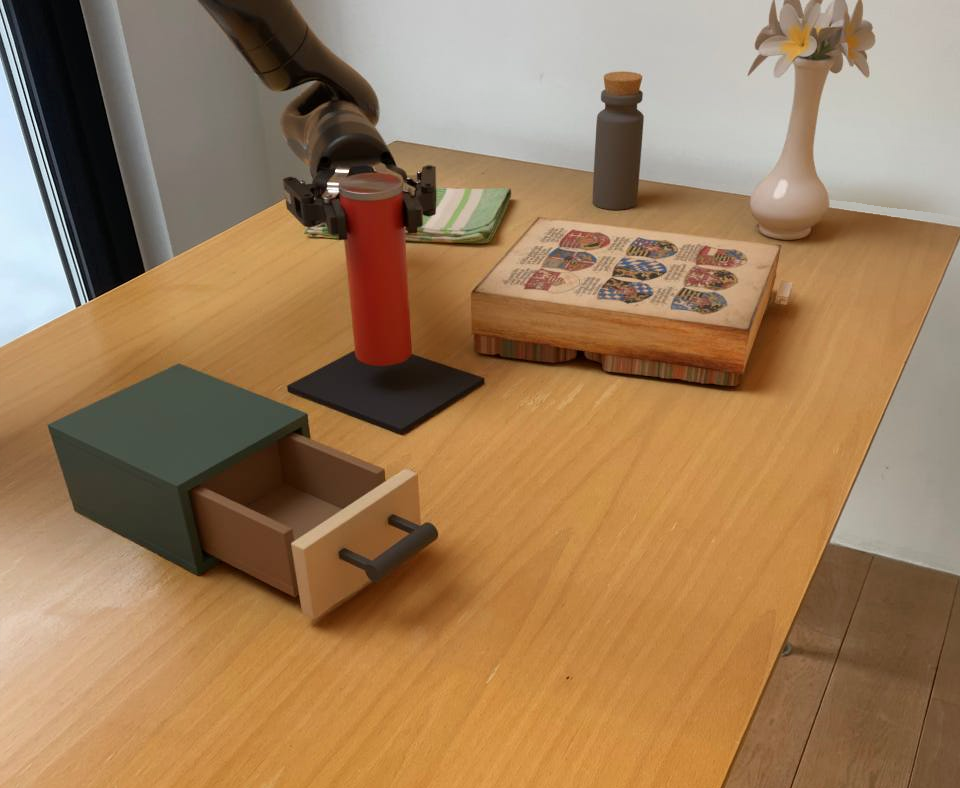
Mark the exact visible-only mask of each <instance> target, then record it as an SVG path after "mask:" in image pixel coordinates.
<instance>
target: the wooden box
mask: <svg viewBox="0 0 960 788" xmlns="http://www.w3.org/2000/svg"><path fill="white" fill-rule="evenodd" d="M781 249H782V245H781V244H775V243H767V242H758V241H757V242H756V241H748V240H741V239H732V238H723V237H714V236H713V237H712V236H704V235H699V234H698V235H697V234H690V233H689V234H688V233H680V232H672V231H661V230H654V229H646V228H645V229H644V228H635V227H629V226H628V227H627V226H620V225H610V224H602V223H593V222H586V221H585V222H584V221H577V220H576V221H575V220H567V219H560V218H550V217H542V216H538V217H537V218H536V219H535V220H534V221H533V222H532V223H531V224H530V226H529V227H528V228H527V229H526V230H525V231H524V232H523V233H522V234H521V236H520V237H519V238H518V239H517V240H516V241H515V242H514V244H513V245H512V246H511V247H510V248H509V249H508V250H507V251H506V252H505V254H503V256H502V257H501V258H500V259H499V260H498V262H496V263H495V265H494V266H493V267H492V268H491V269H490V270H489V272H488V273H487V274H486V275H485V276H484V277H483V278H482V279H481V281H480V282H478V284H477V285H476V286H475V287H474V288H473V289H472V291H471V292H470V327H471V329H470V332H471V333H470V335H473V351H474V352H478V353H480V354H485V355H494V356H495V355H497V354H499V356H501V357H502V358H503V357H504V358H511V359H519V360H526V361H534V362H542V363H550V364H551V363H552V364H555V363H559V362H567V361H568V362H569V361H571V360H572V359H575V358H577V351H583V354H584V357H586V359H588V360H589V361H594V362H597V363H599V364H602V366H601V367H602V369H603V370H604V371H605V372H609V373H615V374H616V373H619V374H629V375H639V376H645V377H648V376H649V377H655V378H658V377H659V378H661V379H676V380H681V381H686V382H689V383H691V382H693V383H700V384H702V385H703V384H714V385H720V386H728V387H736V386H737V385H740V384H741V383H742V382H743V379H744V377H745V375H746V371H747V369H748V366H749V363H750V358H751V357H750V356H751V352H752V348H753V346H754V343H755V340H756V337H757V335H758V331H759V328H760V326H761V323H762V320H763V317H764V316H766V314H767V311H768V308H769V305H770V301H771V298H772V291H773V289H774V286H775V281H776V278H777V274H778V265H779V260H780V254H781ZM793 285H794V282H793V281H786V280H785V281H784V280H781V281H780V283H779V286H778V289H777V292H776V295H775V300H774V304H779V305H784V306H785V305H787V306H788V303H789V300H790V297H791V294H792V290H793Z"/></svg>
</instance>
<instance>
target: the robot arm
mask: <svg viewBox="0 0 960 788" xmlns="http://www.w3.org/2000/svg"><path fill="white" fill-rule="evenodd" d="M196 2H197V3H198V4H199V5H200V6H201V7H202V9H203V10H204V11H205V12H206V13H207V15H208V16H209V17H210V18H211V19H212V21H213V22H214V23H215V25H216V26H217V27H218V28H219V30H220V31H221V32H222V34H224V36H225V37H226V39H227V40H228V41H229V42H230V44H231V46H233V48H234V49H235V50H236V52H237V53H238V55H239V56H240V57H241V59H242V60H243V61H244V63H246V65H247V66H248V67H249V69H250V70H251V71H252V73H254V75H255V77H256V78H257V80H259V82H260V83H261V84H262V85H263V86H264V87H265V88H267V89H268V90H270V91H272V92H276V93H281V92H286V91H290V90H292V89H295V88H297V87H299V86H302V85H304V84H307V83H311V82H313V83H311V84H310V85H309V86H308V87H306V88H305V89H304V90H303V91H302V92H300V93H299V94H298V95H297V96H296V97H294V98H293V99H292V100H291V101H289V103H287V104H286V106H285V107H284V108H283V110H282V112H281V115H280V118H279V120H280V121H279V123H280V124H279V125H280V130H281V133H282V136H283V138H284V141H285V143H286V144H287V146H288V147H289V149H290V150H291V151H292V153H294V155H295V156H296V157H297V158H298V159H299V160H300V161H301V162H303V163H304V164H306V165H307V166H308V167H309V173H310V176H311V179H312V181H311V183H306V180H299V179H298V178H297V177H295V176H287V177H284V178H283V179H282V183H283V189H284V190H283V191H284V197H285V205H286V209H287V211H288V212H289V213H290V214H291V215H292V216H293V217H294V218H295V219H296V220H297V221H298V222H299V223H300V224H301V225H302V226H303V227H305V228H307V227H313V226H316V225H317V221H321V222H324V223H325V227H327V230H328V232H329V234H331V235H337V237H338V238H337V239H338V241H344V240H346V239H347V230H346V220H345V213H344V210H343V207H342V205H341V203H340V193H339V189H338V183H339V182H340V181H341V180H342V179H344V178H346V177H349V176H352V175H357V174H363V173H385V174H391V175H394V176H397V177H399V178H400V179H401V180H402V181H403V207H404V224H405V227H406V229H407V231H408V233H409V234H410V233H417V227H422V226H423V215H424V216H433V215H435V214H436V201H437V189H436V187H437V169H436V166H435V165H431V164H427V165H424V166H422V168H421V170H417V171H416V174H407V172H406V171H405V170H404V169H403V168H401V167H398V166H397V163H396V161H395V158H394V156H393V154H392V152H391V150H390V149H389V147H388V145H387V143H386V141H385V140H384V138H383V136H382V135H381V133H380V131H379V130H378V129H377V128H376V127H377V125H378V124H379V120H380V116H381V107H380V101H379V98H378V95H377V93H376V91H375V90H374V88H373V86H372V85H371V84H370V83H369V81H368V80H367V79H366V78H365V77H363V75H362V74H361V73H359V72H358V71H357V70H356V69H355V68H354V67H352V66H351V65H350V64H348V63H347V62H345V61H344V60H343V59H342V58H341V57H339V55H337V54H335V53H334V51H332V50H331V49H330V48H329V47H328V46H326V44H325V43H323V42H322V40H321V39H320V38H319V36H317V34H316V33H315V32H314V31H313V29H312V28H311V26H310V25H309V24H308V23H307V21H306V19H305V18H304V16H303V15H302V14H301V12H300V11H299V9H298V8H297V6H296V5H295V3H294V2H293V1H292V0H196Z"/></svg>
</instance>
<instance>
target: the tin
mask: <svg viewBox="0 0 960 788" xmlns="http://www.w3.org/2000/svg"><path fill="white" fill-rule="evenodd" d="M338 189H339V193H340V203H341V205H342V207H343V210H344V213H345V220H346V230H347V239H346V240H343V242H344V253H345V265H346V272H347V273H346V274H347V283H348V293H349V303H350V315H351V323H352V333H353V334H352V335H353V345H354V350H355V355H356V357H357V359H358V360H359V361H361V362H362V363H365V364H368V365H374V366H389V365H394V364H398V363H401V362H403V361H405V360H407V359H408V358H409V357H410V356H411V354H413V342H412V328H411V327H412V325H411V310H410V295H409V291H410V290H409V275H408V260H407V259H408V258H407V241H405V224H404V207H403V181H402V180H401V179H400V178H399V177H397V176H394V175H391V174H385V173H363V174H357V175H352V176H349V177H346V178H344V179H342V180H341V181H340V182H339V183H338Z"/></svg>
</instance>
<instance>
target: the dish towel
mask: <svg viewBox="0 0 960 788" xmlns="http://www.w3.org/2000/svg"><path fill="white" fill-rule="evenodd" d="M436 189H437V201H436V214H435V215H433V216H424V215H423V226H422V227H417V233H410V234H409V233H408V231H407V229H406V227H405V241H406V242H421V243H444V244H458V243H460V244H480V245H481V244H489V243H490V242H491V241H492V239H493V237H494V236H495V234H496V232H497V230H498V228H499V226H500V224H501V222H502V219H503V217H504V215H505V212H506V210H507V207H508V205H509V203H510V200H511V198H512V189H511V188H509V187H493V188H451V187H450V188H449V187H437V186H436ZM304 235H307V236H309V237H310V238H314V239H315V238H327V239H338V237H337V235H331V234H329V232H328V230H327V227H325V223H324V222H321V221H317V225H316V226H313V227H306V229H305V230H304Z"/></svg>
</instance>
